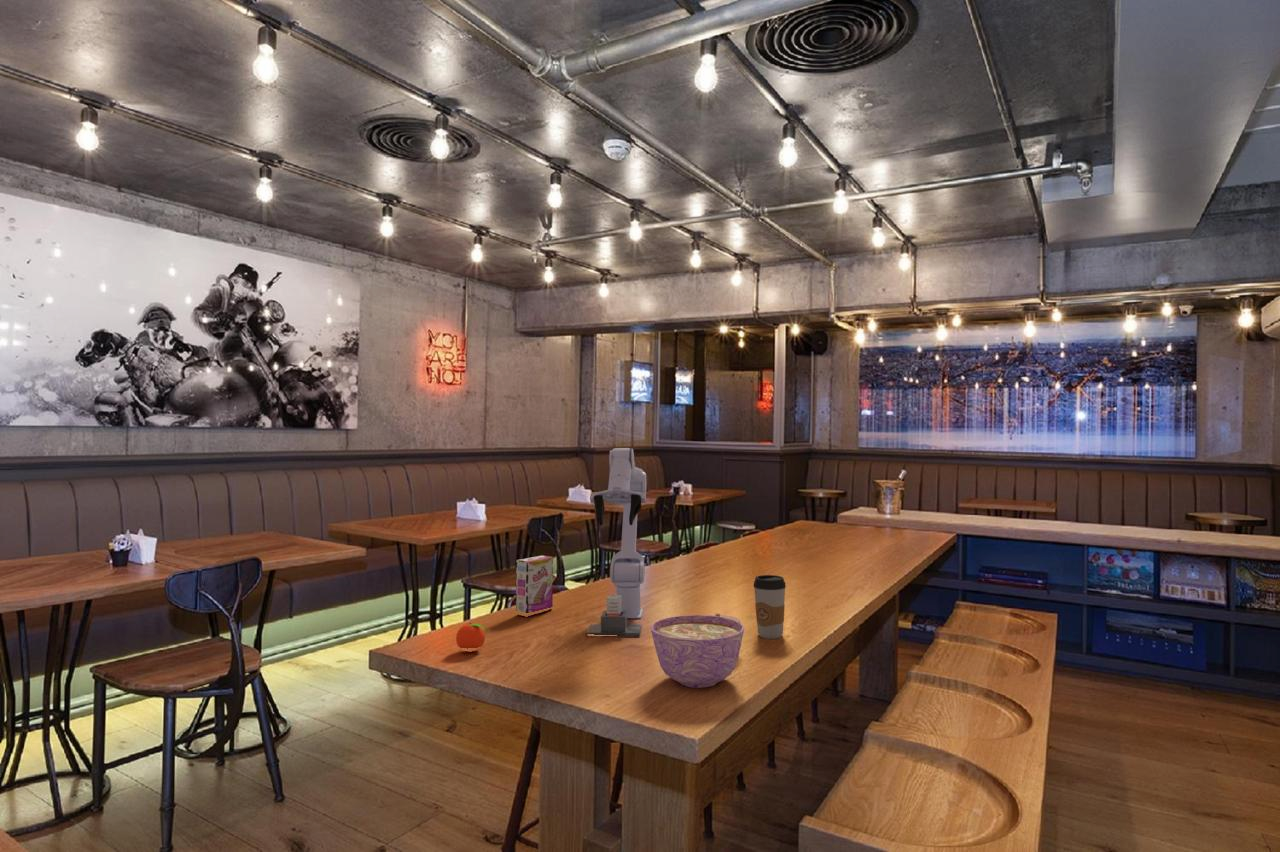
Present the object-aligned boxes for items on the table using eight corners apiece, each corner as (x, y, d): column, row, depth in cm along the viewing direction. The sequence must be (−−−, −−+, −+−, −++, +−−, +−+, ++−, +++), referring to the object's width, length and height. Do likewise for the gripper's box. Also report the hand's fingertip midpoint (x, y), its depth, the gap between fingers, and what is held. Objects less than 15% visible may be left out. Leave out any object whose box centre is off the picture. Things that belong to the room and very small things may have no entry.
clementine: (494, 649, 176) (493, 620, 176) (480, 657, 169) (480, 627, 170) (465, 646, 178) (464, 618, 178) (450, 655, 172) (450, 625, 172)
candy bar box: (527, 618, 206) (527, 561, 206) (515, 615, 209) (514, 560, 209) (554, 610, 215) (553, 556, 215) (542, 608, 218) (541, 554, 218)
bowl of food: (670, 662, 164) (669, 611, 164) (755, 671, 156) (754, 619, 156) (636, 691, 145) (635, 634, 146) (731, 703, 138) (730, 644, 138)
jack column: (608, 626, 191) (607, 595, 192) (622, 626, 191) (621, 595, 191) (606, 629, 188) (606, 598, 188) (620, 629, 187) (620, 598, 187)
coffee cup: (747, 636, 184) (746, 578, 184) (765, 629, 190) (764, 573, 190) (775, 642, 178) (774, 582, 179) (792, 634, 185) (791, 577, 185)
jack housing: (590, 628, 194) (590, 608, 194) (641, 628, 193) (641, 609, 193) (586, 636, 186) (586, 616, 186) (639, 636, 185) (639, 616, 185)
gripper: (591, 472, 188) (585, 512, 178) (645, 472, 187) (643, 512, 177) (593, 490, 193) (588, 530, 183) (647, 490, 192) (644, 530, 182)
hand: (615, 522), depth 180 cm, fingers open, 7 cm apart
